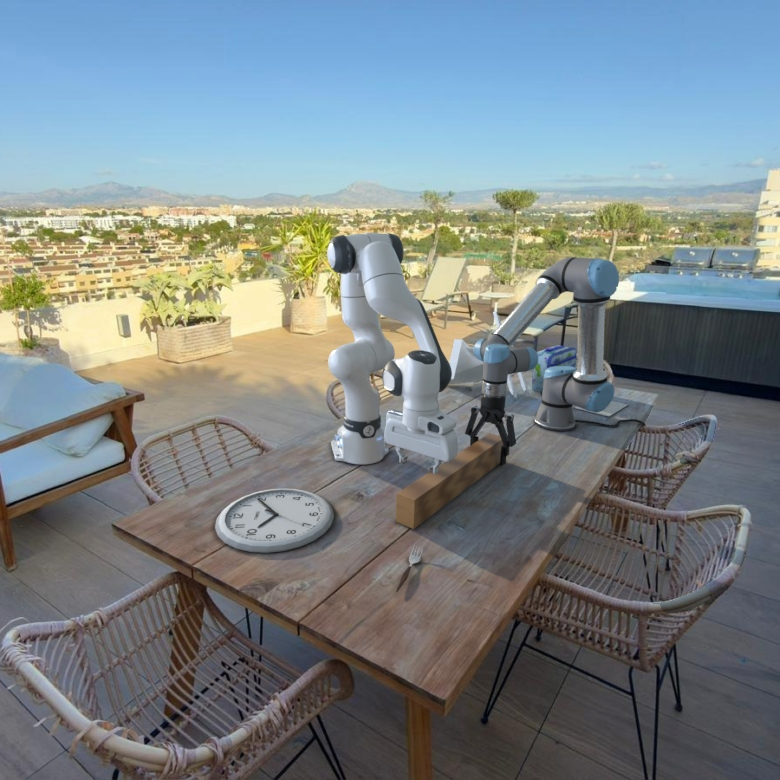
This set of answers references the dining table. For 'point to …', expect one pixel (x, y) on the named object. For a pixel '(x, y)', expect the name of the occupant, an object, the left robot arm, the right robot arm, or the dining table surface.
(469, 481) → the post
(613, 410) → the invitation card
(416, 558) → the fork
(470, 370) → the white plastic object
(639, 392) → the dining table surface
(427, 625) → the dining table surface
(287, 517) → the wall clock
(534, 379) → the lunch box
